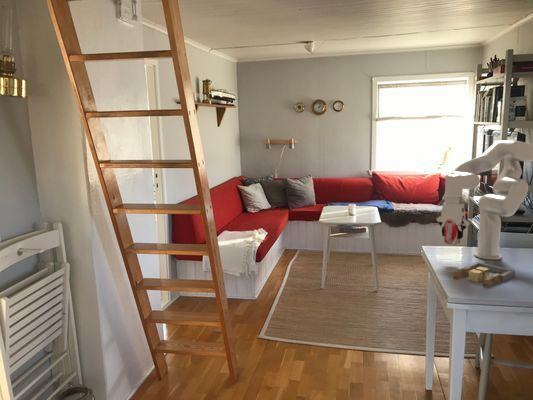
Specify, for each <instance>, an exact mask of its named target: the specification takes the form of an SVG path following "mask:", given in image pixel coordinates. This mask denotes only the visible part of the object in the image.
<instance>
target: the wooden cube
mask: <svg viewBox="0 0 533 400" xmlns="http://www.w3.org/2000/svg"><path fill="white" fill-rule="evenodd" d="M476 270H479V271H483V278H482V280H483V279H485V278H487V277H489V276H490V271H489V269H488V268H484V267H478V268H476Z"/></svg>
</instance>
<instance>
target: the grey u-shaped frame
mask: <svg viewBox="0 0 533 400" xmlns="http://www.w3.org/2000/svg"><path fill="white" fill-rule="evenodd" d="M467 266H469V267H471V270H473V269H474V270H476V268H478V267H484V268H488V269H489V272H491V273H494V274H496V273H498V274H500V281H499V282H505V281H507V280H510V279H511V278H513V277H515V273H516V270H514V269H510V268H507V267H501V266H497V265H493V264H488V263H484V262H480V261H476V262H472V263H470V264H468V265H465V266H464V267H467Z"/></svg>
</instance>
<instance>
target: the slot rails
mask: <svg viewBox="0 0 533 400" xmlns="http://www.w3.org/2000/svg"><path fill="white" fill-rule="evenodd" d="M466 266H467V267H465V266H464V267H462V268H459V269H457V270H454V271H453V279H455V280H459V279H461V278H464V277H465V276H467V275H468V276H469V271H471V267H469V266H468V265H466ZM500 275H501V274H499V273H494V274H492V275H489V277H487V278H485V279H482V287H485V288H489V287H490V286H492V285H494V284H497V283H499V282H501V281H500Z"/></svg>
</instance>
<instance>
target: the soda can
mask: <svg viewBox="0 0 533 400" xmlns="http://www.w3.org/2000/svg"><path fill="white" fill-rule="evenodd" d="M458 231H459V229H458V225H456V223H455V222H454V220H447V221H446V222H445V227H444V236H443V239H444V243H445V244H447V245H450V246H455V245H456V246H457V245H458V244H460V243H461V239H458Z"/></svg>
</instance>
